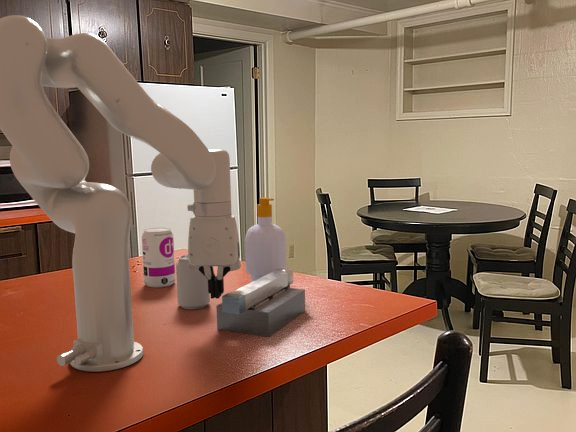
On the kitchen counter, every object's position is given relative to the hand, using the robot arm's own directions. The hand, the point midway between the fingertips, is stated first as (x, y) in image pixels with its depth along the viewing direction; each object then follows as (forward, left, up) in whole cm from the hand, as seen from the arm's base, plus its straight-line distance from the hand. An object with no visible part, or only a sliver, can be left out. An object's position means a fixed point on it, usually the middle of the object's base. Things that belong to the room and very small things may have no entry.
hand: (216, 296), depth 118 cm
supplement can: (+23, +33, -6) cm, 40 cm away
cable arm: (+7, -7, -1) cm, 10 cm away
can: (+10, +13, -6) cm, 17 cm away
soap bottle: (+26, +2, -6) cm, 27 cm away
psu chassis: (+9, -7, -6) cm, 13 cm away
